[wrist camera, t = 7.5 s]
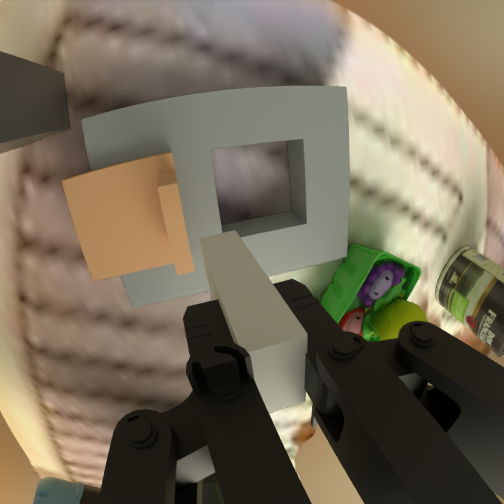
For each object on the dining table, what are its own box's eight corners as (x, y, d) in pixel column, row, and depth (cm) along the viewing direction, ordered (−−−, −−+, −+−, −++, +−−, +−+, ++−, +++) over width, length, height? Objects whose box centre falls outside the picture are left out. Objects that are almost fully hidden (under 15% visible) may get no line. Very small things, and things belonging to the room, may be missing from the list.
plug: (71, 129, 17) (-17, 150, 7) (21, 148, 16) (-79, 189, 6) (64, 71, 15) (-23, 40, 4) (14, 93, 14) (-89, 93, 3)
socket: (329, 242, 27) (346, 256, 25) (134, 286, 24) (132, 307, 21) (325, 88, 21) (346, 86, 18) (92, 119, 17) (81, 119, 14)
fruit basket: (348, 226, 27) (431, 287, 18) (400, 252, 31) (471, 304, 21) (295, 323, 31) (346, 403, 21) (351, 331, 34) (403, 396, 25)
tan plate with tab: (190, 254, 20) (198, 287, 17) (95, 275, 19) (83, 312, 15) (171, 151, 17) (173, 161, 13) (65, 178, 16) (40, 196, 12)
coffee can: (433, 315, 40) (490, 370, 28) (435, 266, 34) (510, 324, 22) (471, 283, 40) (527, 327, 28) (476, 234, 35) (545, 277, 23)
